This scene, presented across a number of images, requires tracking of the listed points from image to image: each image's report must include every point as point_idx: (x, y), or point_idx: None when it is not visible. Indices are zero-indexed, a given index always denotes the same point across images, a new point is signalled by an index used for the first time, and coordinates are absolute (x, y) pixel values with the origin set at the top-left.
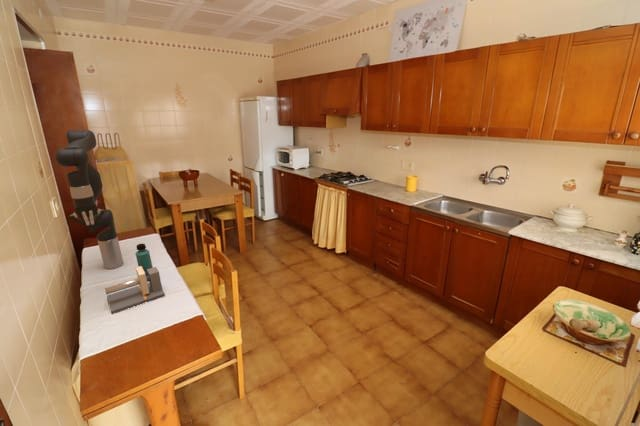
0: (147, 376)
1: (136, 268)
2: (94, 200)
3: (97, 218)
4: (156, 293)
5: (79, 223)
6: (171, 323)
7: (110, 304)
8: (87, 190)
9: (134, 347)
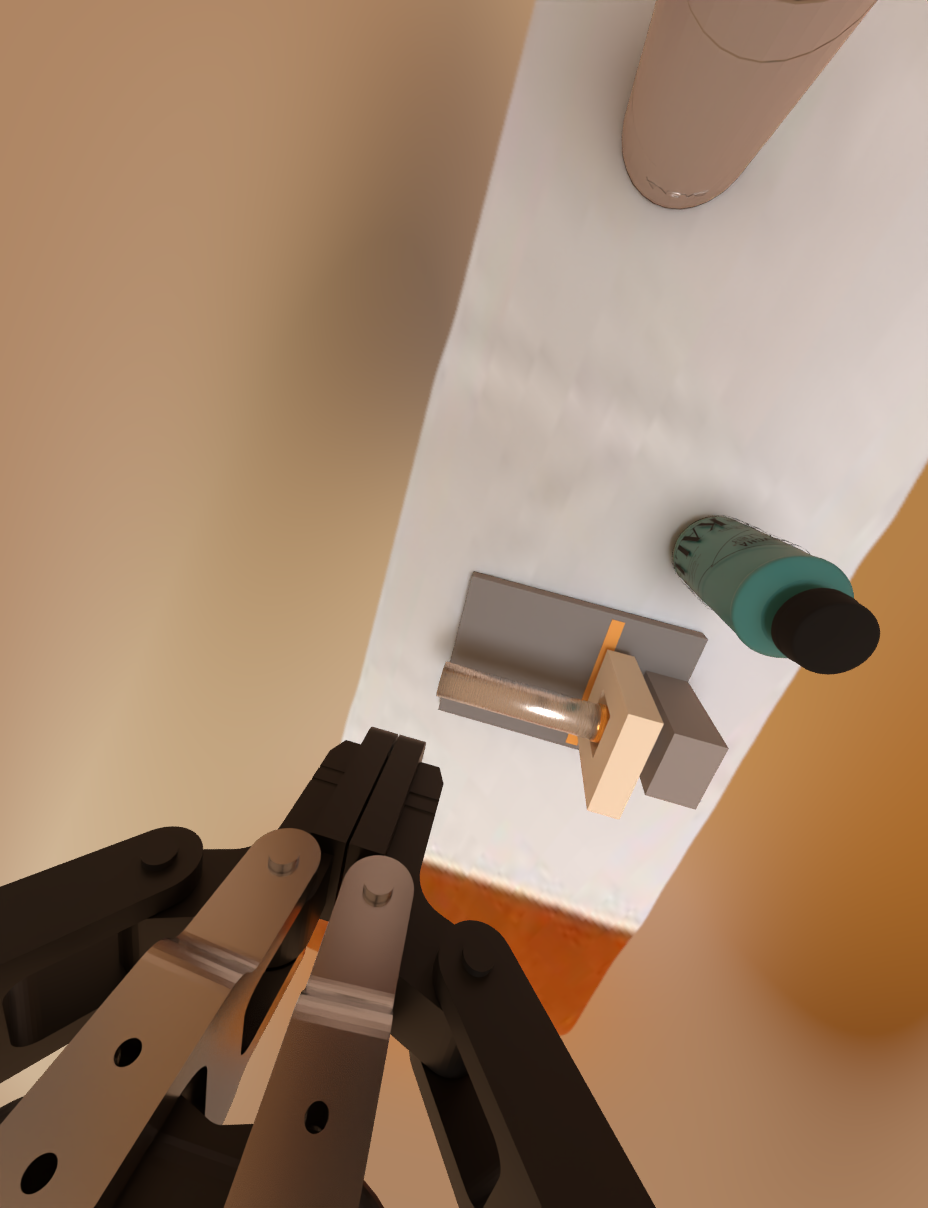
0: None
1: (625, 728)
2: None
3: (456, 1147)
4: None
5: (89, 959)
6: (552, 897)
7: (455, 661)
8: None
9: (426, 891)
